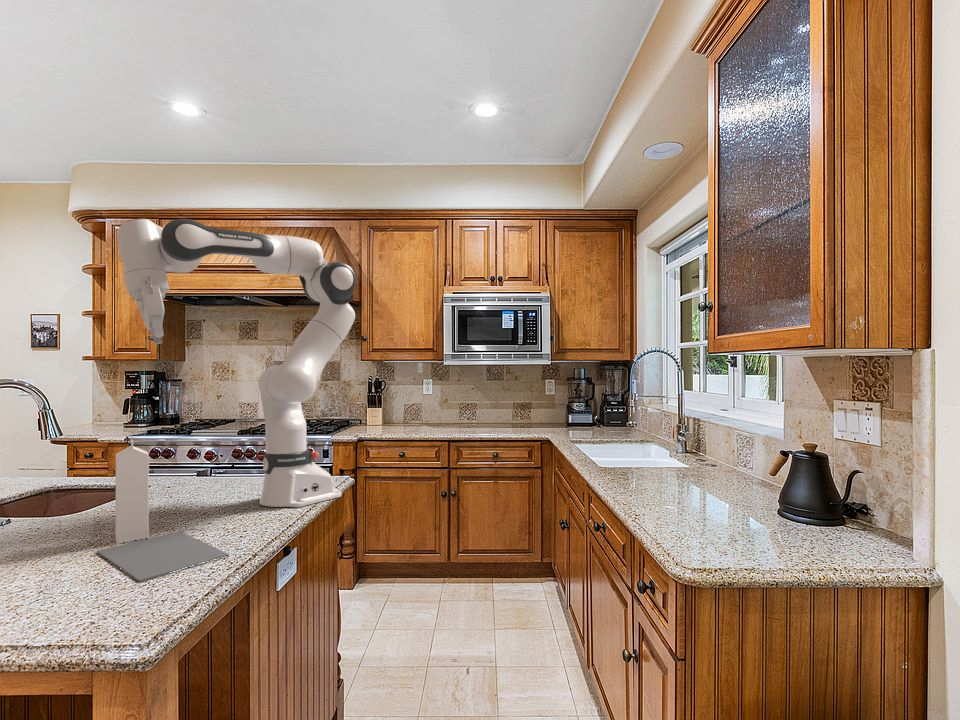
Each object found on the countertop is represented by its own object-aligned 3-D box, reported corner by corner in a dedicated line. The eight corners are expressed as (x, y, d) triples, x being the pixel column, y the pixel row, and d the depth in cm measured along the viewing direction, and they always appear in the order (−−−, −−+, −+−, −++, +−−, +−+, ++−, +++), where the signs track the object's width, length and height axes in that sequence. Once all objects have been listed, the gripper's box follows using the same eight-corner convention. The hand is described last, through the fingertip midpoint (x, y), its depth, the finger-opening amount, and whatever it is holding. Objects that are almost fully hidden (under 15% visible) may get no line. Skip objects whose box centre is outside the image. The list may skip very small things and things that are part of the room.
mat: (96, 552, 107) (96, 550, 107) (179, 532, 119) (179, 531, 119) (139, 582, 92) (139, 580, 92) (229, 556, 105) (229, 554, 105)
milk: (116, 544, 112) (115, 443, 112) (115, 537, 117) (114, 439, 117) (149, 538, 116) (148, 440, 116) (147, 531, 121) (146, 437, 121)
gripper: (164, 272, 120) (176, 330, 120) (161, 294, 137) (171, 344, 137) (131, 274, 116) (144, 334, 116) (133, 296, 133) (143, 348, 133)
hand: (159, 340), depth 126 cm, fingers open, 8 cm apart
